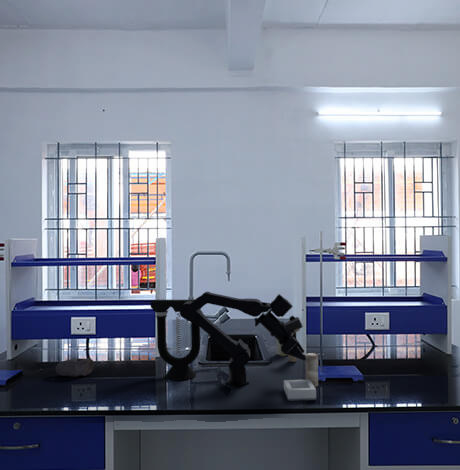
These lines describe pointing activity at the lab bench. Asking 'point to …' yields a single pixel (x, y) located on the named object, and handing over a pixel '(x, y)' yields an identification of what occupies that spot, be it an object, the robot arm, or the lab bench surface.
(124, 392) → the lab bench surface
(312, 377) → the peg
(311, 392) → the socket block
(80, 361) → the perforated stone tool
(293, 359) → the handle
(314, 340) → the lab bench surface
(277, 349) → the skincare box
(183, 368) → the spring support
